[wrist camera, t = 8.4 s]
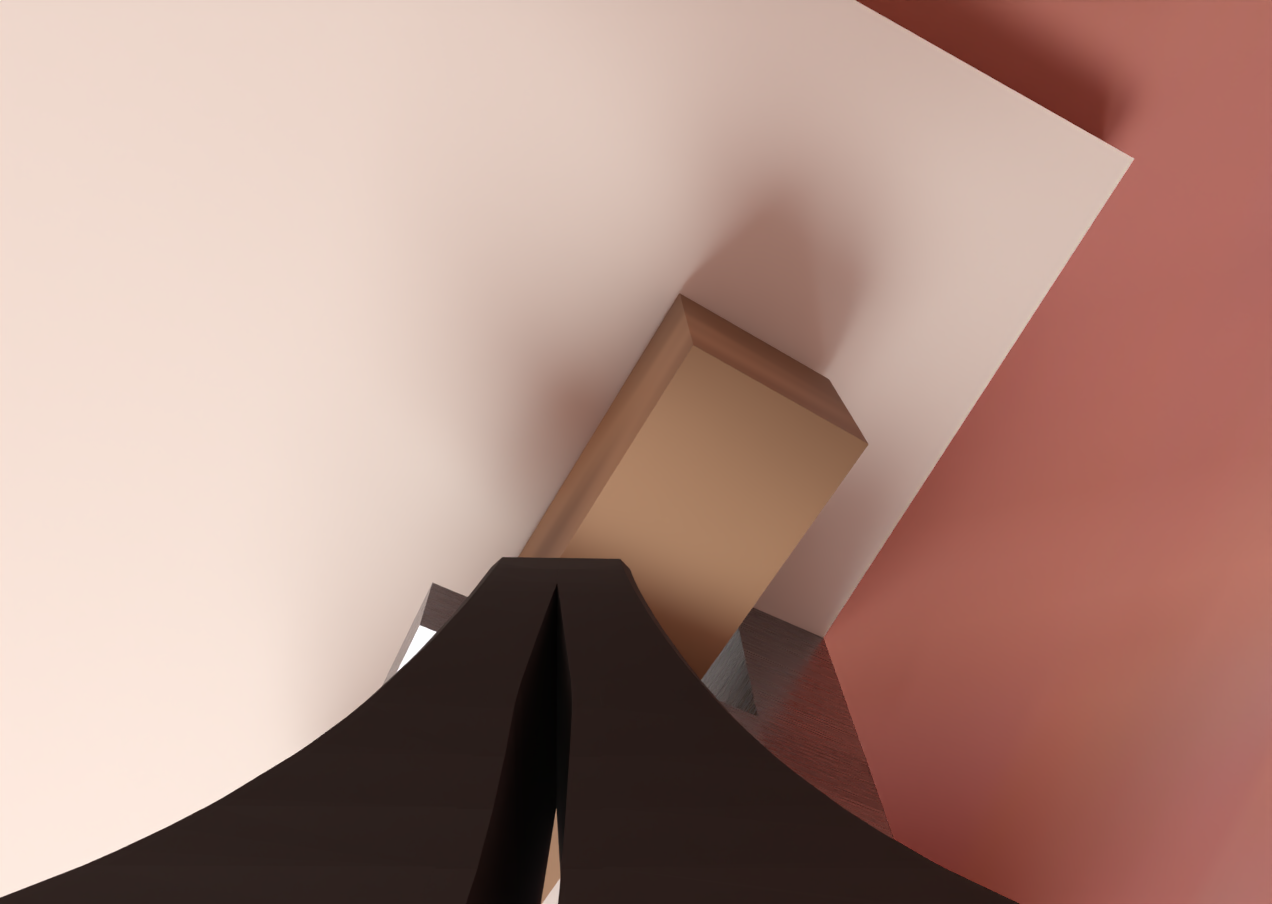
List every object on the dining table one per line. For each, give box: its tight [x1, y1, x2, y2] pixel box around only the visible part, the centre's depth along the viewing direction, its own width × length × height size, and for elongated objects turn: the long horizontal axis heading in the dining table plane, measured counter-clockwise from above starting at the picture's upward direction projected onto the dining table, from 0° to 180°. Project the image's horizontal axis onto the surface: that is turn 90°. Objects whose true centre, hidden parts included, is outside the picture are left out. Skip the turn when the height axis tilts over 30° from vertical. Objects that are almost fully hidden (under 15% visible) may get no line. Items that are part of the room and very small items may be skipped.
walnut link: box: [518, 293, 869, 904], centre depth 19 cm, size 15×4×3 cm, turn 150°
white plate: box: [0, 0, 1134, 904], centre depth 20 cm, size 17×23×1 cm
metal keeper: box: [382, 583, 893, 839], centre depth 18 cm, size 8×2×6 cm, turn 63°
